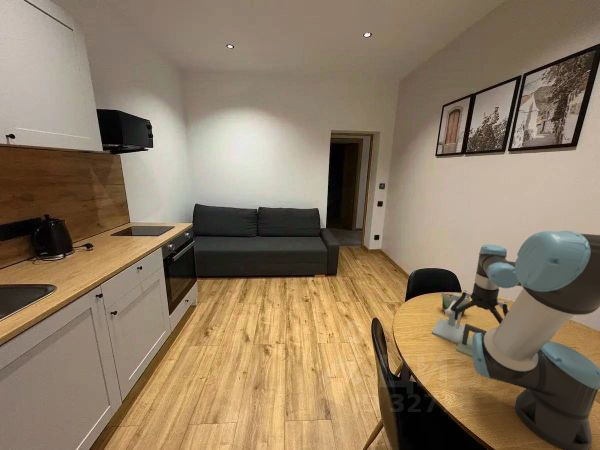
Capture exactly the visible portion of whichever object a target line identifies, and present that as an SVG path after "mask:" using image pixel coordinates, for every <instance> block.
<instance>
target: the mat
mask: <svg viewBox="0 0 600 450" xmlns="http://www.w3.org/2000/svg"><path fill="white" fill-rule="evenodd" d="M472 338H473V337H470V336H468V341H467V345H464V344H462V339H463V334H462V336H461V338H460V341H459V343H458V345H457V344H456V348H455V351H457V352H459V353H461V354H463V355H465V356H468V357H470V358H472V359H473V352H472Z"/></svg>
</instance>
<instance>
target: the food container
mask: <svg viewBox="0 0 600 450" xmlns="http://www.w3.org/2000/svg"><path fill="white" fill-rule="evenodd" d="M440 296H441V298H442V299H441V300H442V303H441V304H442V306H441V308H442V309H441V310H442V312H443V311H444V312H445V310H446V309H448V308H449V306H450V305H451V303H452V297H453V294H448V293H444V292H442V293H441V295H440ZM461 296H462V295H460V297H461ZM470 301H471V297H468V298H465V299H464V300H463V301H462V302H461V303H460V304H459V305H458V308H459V307H461V306H463V305H465V304H467V303H469V302H470ZM444 312H443V313H444ZM465 312H466V310H464V311H462V314H461V318H462V317H464V315H465Z"/></svg>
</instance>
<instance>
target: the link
mask: <svg viewBox="0 0 600 450" xmlns="http://www.w3.org/2000/svg"><path fill="white" fill-rule="evenodd" d="M464 327H465V328H464V332H463V339H462V344H464V345H467V341H468V337H470V332H472V333H482V334H486V332H487V331H488V330H485V329H482V328H480V327H477V326H474V325H471V324H469V323H465V324H464Z"/></svg>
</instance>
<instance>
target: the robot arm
mask: <svg viewBox="0 0 600 450" xmlns="http://www.w3.org/2000/svg"><path fill="white" fill-rule="evenodd" d="M507 252H508V251H507V249H506V248H505V247H503V246H501V245H496V244H483V245H482V246H481V247H480V250H479V253H478V260H477V261H478V262H477V267H476V272H475V275H474V276H475V277H474V284H473V287H472V293H470V292H468V291H467V290H463V292H462V293H461V295H460V296H461V297H460V298H459V299H458V300H457V301H456V302H455V303H454V304H453V305H452V307H451V310H452V311H454V312H455V318H454V319H455V320H456V324H457V325H456V329H458V328H459V326H460V325H461V319H462V317H461V314H462V311H464V310H465V311H467V310H469V308H473V307H475V306H476V307H477V308H479V309H482V310H486V311H487V310H488V311H490V313H491V314H492V315H493V316H494V318H495V319H496V321H497V323H498V324H499V325H498V327H493V328H489V329H488V330H486V331H487V332H486V334H482V333H475V332H473V335H472V337H471V338H472V352H473V358H472V359H473V360H472V361H473V367H474V370H475V372H477V373H478V374H479V375H481V376H483V377H486V378H488V379H489V380H495V381H498V382H503V383H506V384H510V385H513V386H517V387H519V388H523V390H522V391H521V392H520V393H519V394H518V395H517V396H516V399H515V402H514V410H515V412H516V414H517V417H518V418H519V419H520V420H521V422H522V423H523V424H524V425H525V426H526V427H527V428H529V430H531V431H532V432H533V433H534V434H536V435H537V436H538V437H540V438H541V439H542V440H544V441H545V442H547V443H549V444H551V445H553V446H555V447H557V448H559V449H562V450H590V448H591V445H592V442H593V435H592V430H591V425H590V420H589V417H590V414H591V411H592V408H593V406H594V403H595V401H596V397H597V395H598V393H599V390H600V368H599V366H598V365H597V364H596V363H595V362H594V361H592V360H591V359H590V358H589V357H587V356H586V355H585V354H582V353H581V352H579V351H577V350H576V349H574V348H572V347H569V346H568V345H566V344H563V343H560V342H556V341H553V340H551V339H552V338H553V337H555V335H557V333H558V332H559V331H560V330H561V329H562V328H564V326H565V325H567V323H568V322H569V321H571V319H572V318H573V317H574V316H585V315H586V316H587V315H590V314H593V313H595V312H596V311H597V310H598V309H599V308H600V234H592V233H591V234H590V233H579V232H576V231H572V230H559V231H556V230H555V231H552V230H545V231H539V232H535V233H534V234H532V235H530V236H528V237H527V239H526V240H524V242H523V243H522V244H521V246H520V247H519V250H518V251H517V255H516V256H517V258H516V259H515V261H509V260H507V259H506V258H508V257H507V256H508V255H507ZM516 286H517V287H522V289H521V291H520V292H519V294H518V296H517V297H516V299H515V300H514V302H513V303H512V305H511V306H510V308H509V309H508V302H507V301H503V302H502V301H499V300H498V297H499V292H500V288H502V289H510V288H514V287H516ZM468 297H469V298H470V302H469V303H467V304H465V305H463V306H461V307H459V308H456V307H457V306H458V305H459V304H460V303H461V302H462V301H463V300H464V299H465V298H468ZM497 306H499V308H500V309H502V313H503V315H504V318H503V317H502V315H501V314H500V313H499V311H498V310H497V308H496V307H497Z"/></svg>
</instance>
